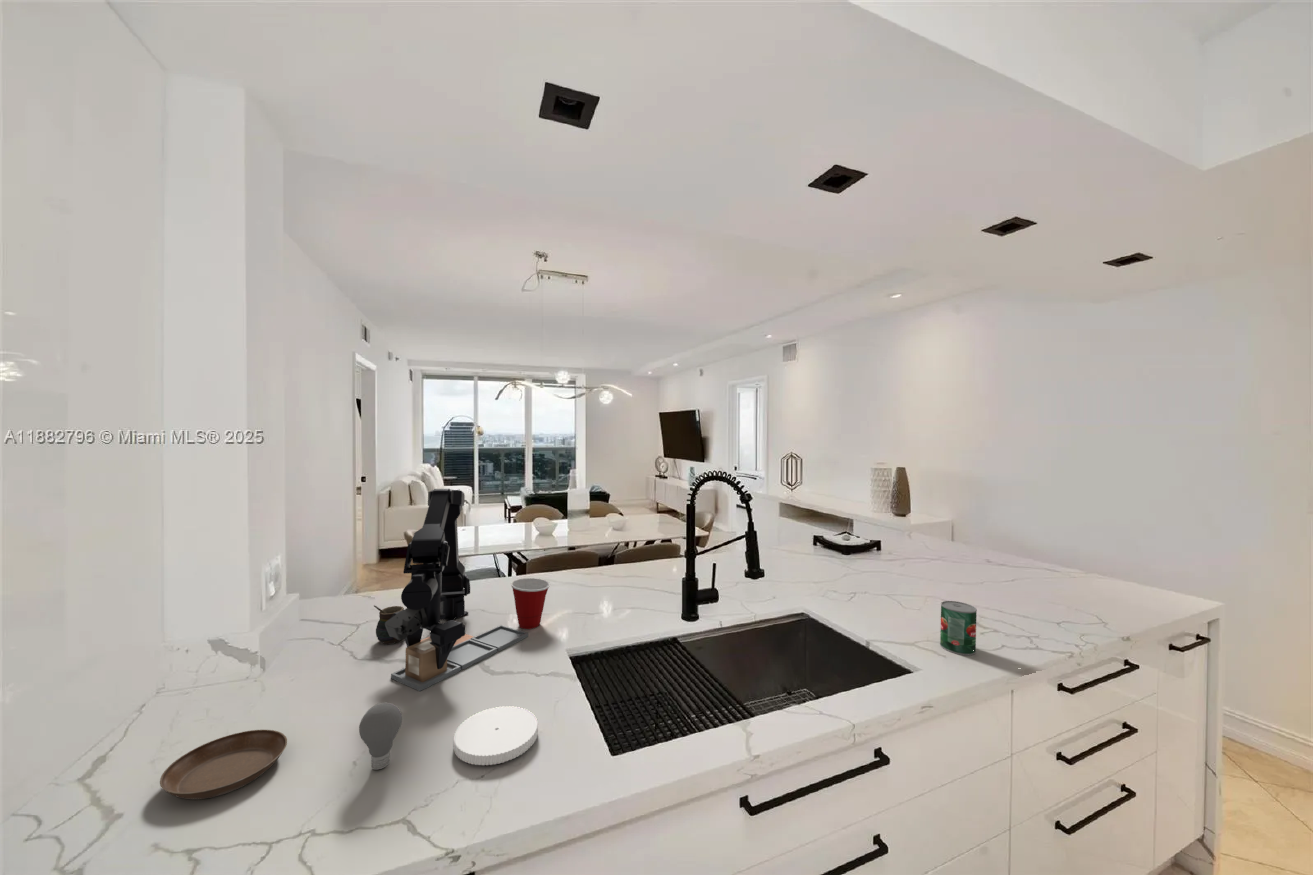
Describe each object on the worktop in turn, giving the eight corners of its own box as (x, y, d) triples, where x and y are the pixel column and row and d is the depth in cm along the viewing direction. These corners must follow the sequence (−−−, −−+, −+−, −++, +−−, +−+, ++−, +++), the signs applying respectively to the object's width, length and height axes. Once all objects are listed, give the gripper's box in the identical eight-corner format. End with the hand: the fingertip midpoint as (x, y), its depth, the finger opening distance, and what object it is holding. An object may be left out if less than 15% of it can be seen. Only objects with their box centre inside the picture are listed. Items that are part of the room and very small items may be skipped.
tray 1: (391, 678, 104) (391, 673, 104) (432, 659, 113) (432, 655, 113) (419, 691, 99) (419, 686, 99) (460, 670, 108) (460, 666, 108)
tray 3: (470, 642, 122) (470, 638, 122) (501, 628, 131) (501, 624, 131) (498, 651, 117) (498, 647, 117) (527, 636, 126) (527, 632, 126)
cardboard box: (404, 675, 105) (405, 647, 105) (430, 663, 110) (430, 637, 110) (422, 682, 102) (422, 654, 102) (447, 670, 107) (447, 643, 107)
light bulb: (370, 754, 80) (371, 695, 80) (407, 753, 80) (408, 694, 80) (350, 781, 74) (351, 717, 74) (391, 779, 74) (391, 715, 74)
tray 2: (434, 658, 113) (434, 654, 113) (469, 642, 122) (469, 639, 122) (462, 669, 108) (462, 665, 108) (496, 652, 117) (496, 648, 117)
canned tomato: (981, 657, 119) (982, 613, 119) (946, 653, 121) (948, 610, 120) (967, 643, 127) (968, 602, 127) (935, 640, 128) (936, 599, 128)
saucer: (308, 743, 83) (308, 727, 83) (238, 810, 68) (238, 791, 68) (218, 744, 82) (218, 729, 82) (128, 813, 67) (128, 794, 67)
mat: (415, 644, 121) (415, 642, 121) (449, 630, 129) (449, 628, 129) (440, 653, 116) (440, 651, 116) (474, 638, 125) (474, 636, 125)
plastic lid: (539, 762, 79) (539, 747, 79) (448, 778, 75) (448, 762, 75) (536, 714, 92) (536, 701, 92) (458, 725, 88) (458, 712, 88)
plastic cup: (549, 631, 130) (550, 587, 129) (508, 634, 127) (508, 589, 127) (550, 616, 140) (550, 575, 140) (512, 618, 138) (512, 577, 138)
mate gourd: (412, 640, 123) (412, 602, 123) (379, 650, 117) (379, 610, 117) (402, 631, 128) (401, 594, 128) (370, 641, 122) (370, 602, 122)
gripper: (366, 596, 103) (365, 667, 104) (420, 613, 94) (419, 692, 94) (414, 582, 113) (413, 647, 113) (467, 597, 104) (466, 668, 104)
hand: (426, 663), depth 106 cm, fingers open, 9 cm apart
